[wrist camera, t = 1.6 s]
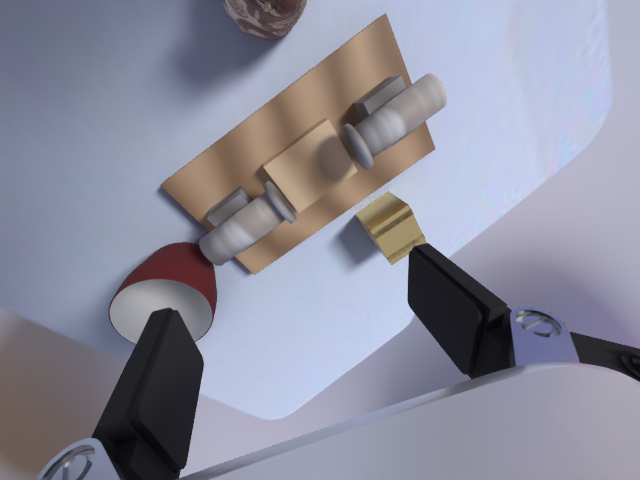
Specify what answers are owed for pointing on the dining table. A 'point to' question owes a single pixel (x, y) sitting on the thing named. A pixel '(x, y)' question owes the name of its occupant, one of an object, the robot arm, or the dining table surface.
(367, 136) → the shaft jig
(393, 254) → the block
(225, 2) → the figurine
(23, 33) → the dining table surface
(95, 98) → the dining table surface
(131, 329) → the mug
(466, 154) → the dining table surface
